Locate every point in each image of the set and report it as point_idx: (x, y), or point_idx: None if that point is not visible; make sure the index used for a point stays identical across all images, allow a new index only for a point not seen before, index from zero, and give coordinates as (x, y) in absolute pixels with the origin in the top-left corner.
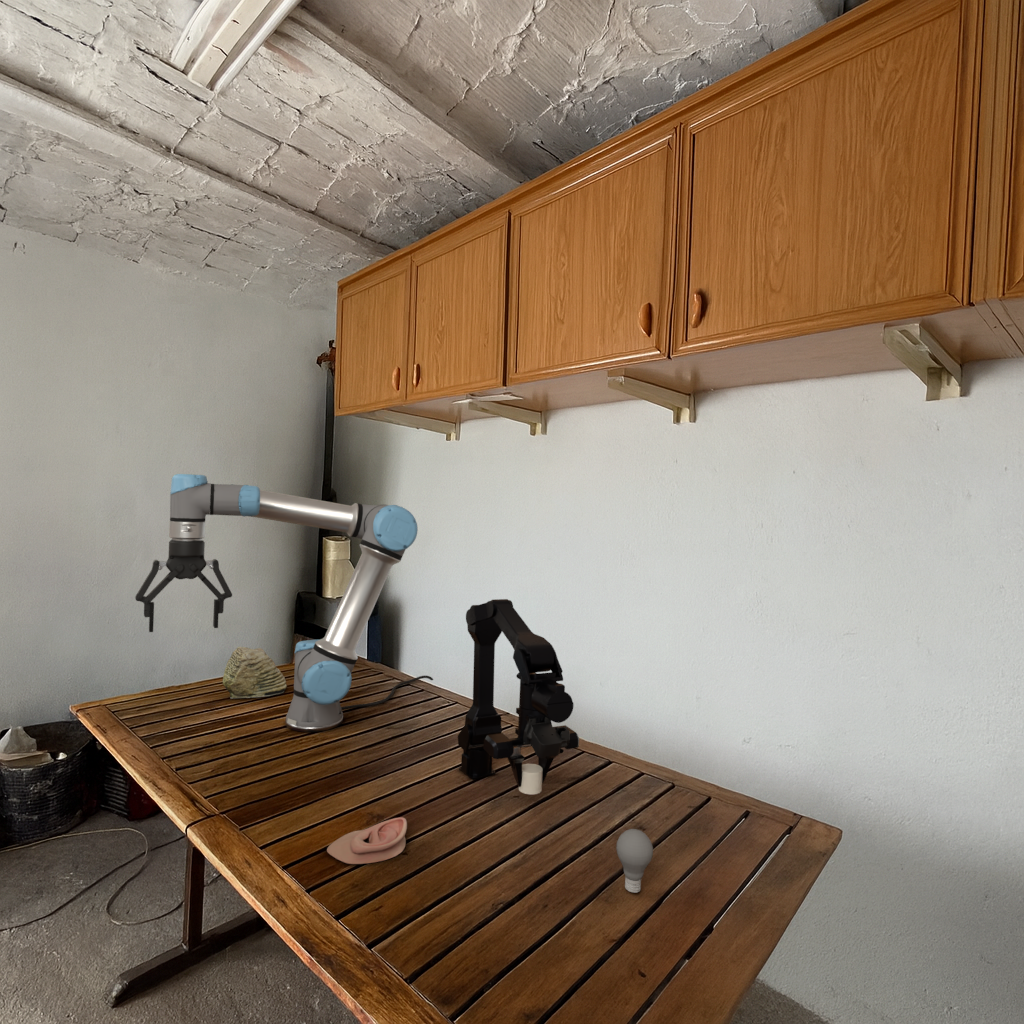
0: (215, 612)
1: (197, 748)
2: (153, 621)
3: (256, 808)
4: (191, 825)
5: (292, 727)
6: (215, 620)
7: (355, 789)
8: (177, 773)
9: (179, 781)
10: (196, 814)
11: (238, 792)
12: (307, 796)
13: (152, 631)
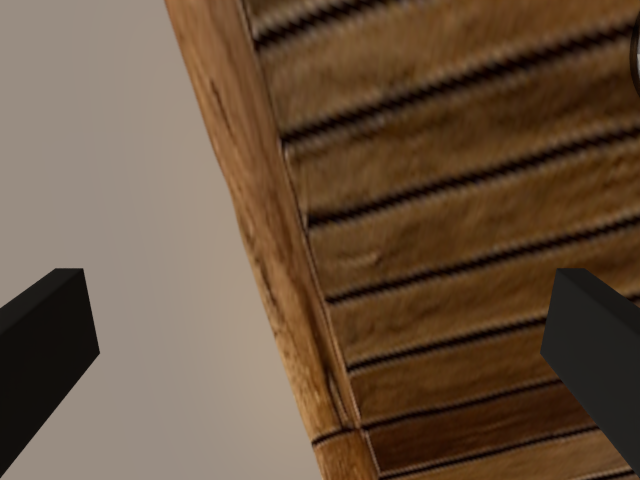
0: (626, 455)
1: (366, 106)
2: (53, 411)
3: (416, 435)
4: (316, 444)
5: (636, 79)
6: (579, 397)
7: (585, 439)
8: (309, 244)
9: (310, 285)
10: (326, 417)
11: (403, 373)
12: (503, 430)
13: (93, 354)
